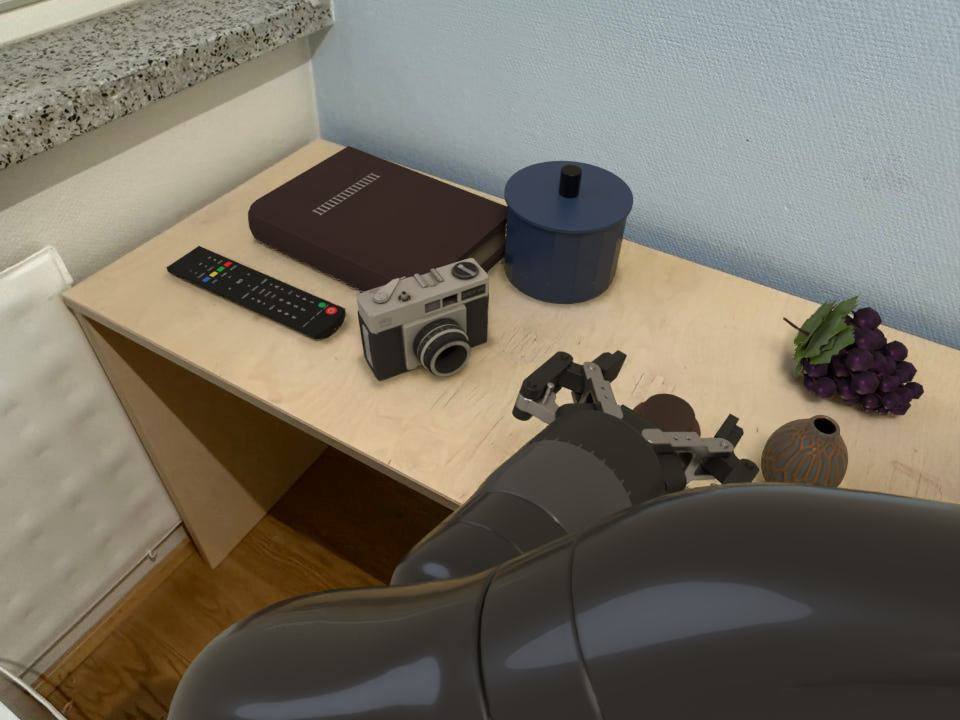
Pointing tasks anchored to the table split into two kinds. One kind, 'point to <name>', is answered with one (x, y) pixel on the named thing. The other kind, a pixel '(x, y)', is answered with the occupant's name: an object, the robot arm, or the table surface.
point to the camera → (425, 320)
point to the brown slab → (377, 221)
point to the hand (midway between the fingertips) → (671, 393)
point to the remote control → (259, 293)
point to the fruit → (854, 359)
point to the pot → (560, 261)
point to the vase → (806, 453)
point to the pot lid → (568, 197)
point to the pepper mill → (669, 413)
